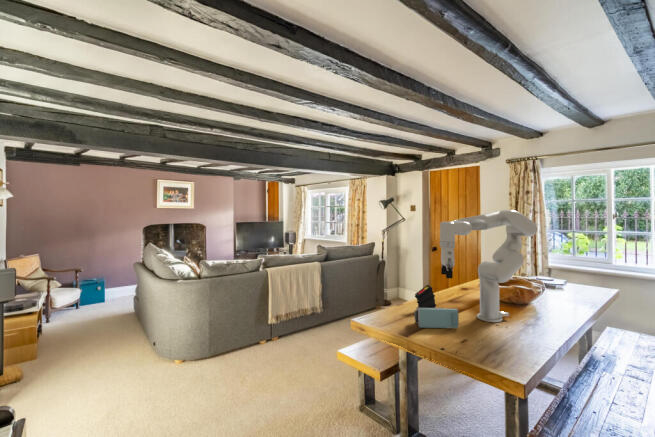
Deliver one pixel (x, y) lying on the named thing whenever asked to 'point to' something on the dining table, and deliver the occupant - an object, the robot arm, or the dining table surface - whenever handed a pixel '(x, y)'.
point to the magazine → (425, 298)
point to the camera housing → (417, 313)
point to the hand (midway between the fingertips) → (446, 276)
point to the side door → (438, 318)
